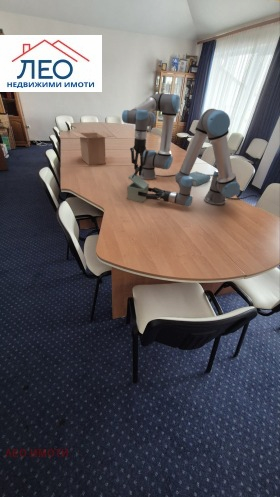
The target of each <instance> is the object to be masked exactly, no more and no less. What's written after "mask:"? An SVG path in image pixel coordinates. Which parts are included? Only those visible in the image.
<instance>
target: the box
mask: <svg viewBox="0 0 280 497" xmlns="http://www.w3.org/2000/svg"><path fill="white" fill-rule="evenodd" d="M70 133H71V134H72V135H74V136H75V137H77V138H79V144H80V153H81V160H83V162H85V163H86V165H87V166H95V165H97V166H98V165H106V163H107V162H106V158H107V157H106V138H113V137H114V136H113V135H111V134H109V133H108V132H105V131H98V132H96V131H95V130H92V129H91V130H77V132H76V131H70Z"/></svg>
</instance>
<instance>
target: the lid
mask: <svg viewBox="0 0 280 497" xmlns="http://www.w3.org/2000/svg"><path fill="white" fill-rule="evenodd" d="M136 172H138V173H139V166H138V168H136V169H134V173H132V174H131V175H129V176H128V179H129V180H130V181H132V182H134V183H135V184H137V185H138V186H139V187H141V188H142V189H143V190H144V189H145V188H146V187H147V186H148V185H150V184H149V183H148V182H147V181H146V180H145V179H142V178H140V177H139V174H138V173H137V174H136ZM135 174H136V175H135ZM148 187H149V186H148Z"/></svg>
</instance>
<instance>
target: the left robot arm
mask: <svg viewBox="0 0 280 497" xmlns="http://www.w3.org/2000/svg"><path fill="white" fill-rule="evenodd" d="M181 103H182V102H181V97H180V96H179V94H175V93H162V92H160V93H159V92H158V93H155V94H152V95H150V96H148V97H146V99H145V100H144V101H143V102H141V103H140V104H138V105H137V106H135V107H133V108H132V109H129V110H128V109H125V110H123V111H122V114H121V120H122V122H123V123H125V124H127V125H134V142H133V143H134V144H133V146H132V147H130V148H129V150H130V157H131V164H133V165H134V166H133V169H134V170H135V169H136V168H138V167H139V172H136V174H137V175H138V176H139V177H140V178H142V179H143V180H144V181H154V180H156V178H157V177H163V178H165V177H175V176H176V174H171V175H170V174H169V175H158V174H156V169H161V170H169V169H170V168H171V166H172V164H173V161H174V156H173V155H172V151H171V145H172V137H173V130H174V124H175V123H174V122H175V118H177V117H178V116H177V115H178V114H179V113H180V112H181ZM153 112H160V113H161V116H162V127H161V136H160V143H159V144H160V145H159V150H155V149H154V150H153V149H151V150H150V149H147V147H146V146H147V137H148V136H147V135H148V134H147V133H148V127H151V126H153V125H155V123H156V120H157V117H156V114H155V113H153ZM138 159H139V160H138ZM138 161H140V162H139V163H140V165H139V164H138ZM155 168H156V169H155ZM136 174H135V175H136ZM207 175H208V176H210V177H211V176H212V177H213V174H207Z"/></svg>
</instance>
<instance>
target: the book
mask: <svg viewBox="0 0 280 497" xmlns="http://www.w3.org/2000/svg"><path fill="white" fill-rule="evenodd" d="M208 175H209V174H205V173H202V172H199V171H192V172H190V174H189V176H190V177H192V178H193V184H192V187H193V186H194V187H197V186H199V185H202V184H205V183H208V182H209V181H211V176H208Z"/></svg>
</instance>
